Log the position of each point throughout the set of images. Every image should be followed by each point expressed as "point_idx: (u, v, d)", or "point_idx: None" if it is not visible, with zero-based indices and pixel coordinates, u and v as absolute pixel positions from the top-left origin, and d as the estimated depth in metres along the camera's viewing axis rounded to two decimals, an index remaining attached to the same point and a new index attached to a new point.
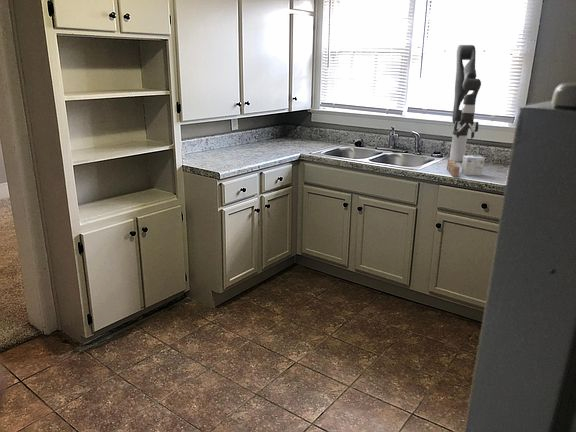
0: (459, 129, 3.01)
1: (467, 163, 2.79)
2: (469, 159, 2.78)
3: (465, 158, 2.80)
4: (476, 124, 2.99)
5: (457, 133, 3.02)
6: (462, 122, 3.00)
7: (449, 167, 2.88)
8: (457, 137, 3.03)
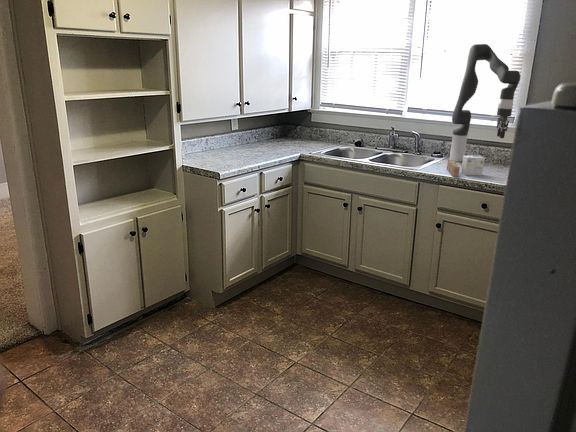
0: None
1: (467, 163, 2.79)
2: (469, 159, 2.78)
3: (465, 158, 2.80)
4: None
5: (504, 133, 2.71)
6: None
7: (449, 167, 2.88)
8: (503, 137, 2.73)
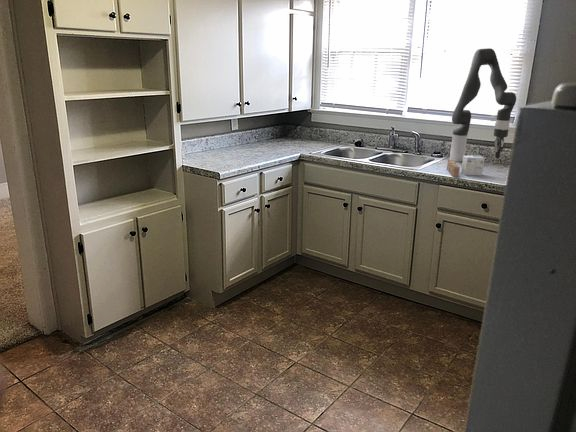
0: None
1: (467, 163, 2.79)
2: (469, 159, 2.78)
3: (465, 158, 2.80)
4: None
5: None
6: None
7: (449, 167, 2.88)
8: (498, 157, 2.79)
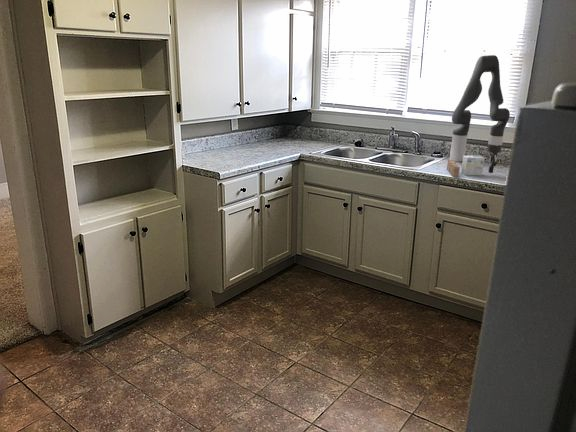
0: None
1: (467, 163, 2.79)
2: (469, 159, 2.78)
3: (465, 158, 2.80)
4: None
5: (492, 168, 2.81)
6: None
7: (449, 167, 2.88)
8: (491, 172, 2.82)
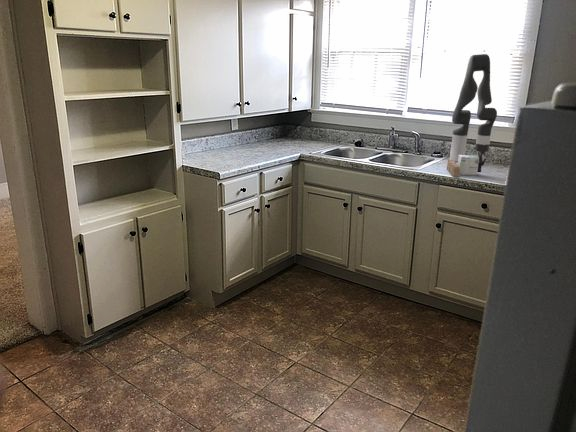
0: (482, 163, 2.81)
1: (461, 162, 2.80)
2: (463, 158, 2.79)
3: (459, 157, 2.82)
4: None
5: (480, 167, 2.81)
6: None
7: (449, 167, 2.88)
8: (479, 171, 2.83)
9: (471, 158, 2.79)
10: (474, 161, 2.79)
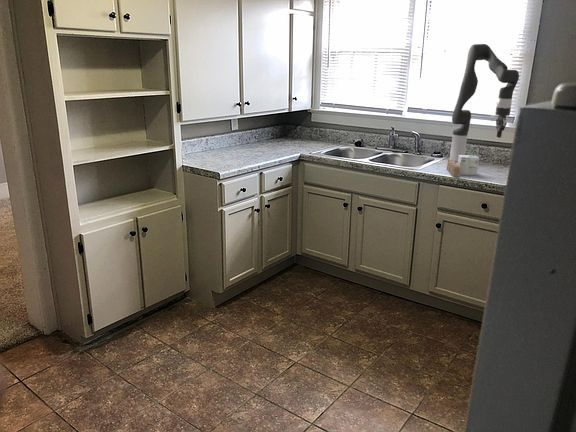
0: None
1: (461, 162, 2.80)
2: (463, 158, 2.79)
3: (459, 157, 2.82)
4: None
5: (501, 132, 2.74)
6: None
7: (449, 167, 2.88)
8: (500, 137, 2.75)
9: (471, 158, 2.79)
10: (474, 161, 2.79)
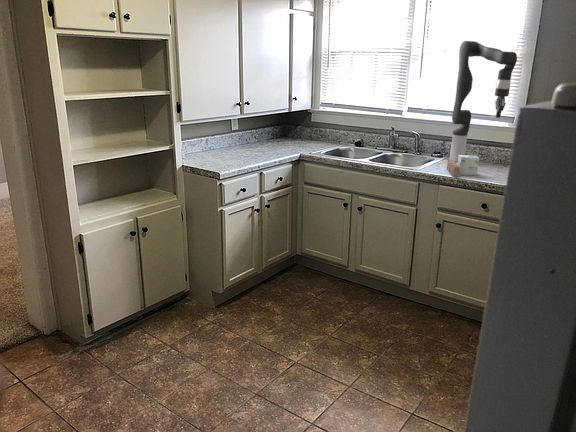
0: None
1: (461, 162, 2.80)
2: (463, 158, 2.79)
3: (459, 157, 2.82)
4: None
5: (500, 113, 2.84)
6: None
7: (449, 167, 2.88)
8: (499, 117, 2.85)
9: (471, 158, 2.79)
10: (474, 161, 2.79)
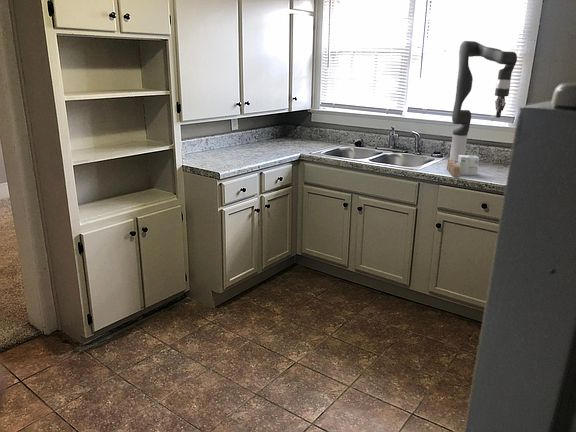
0: None
1: (461, 162, 2.80)
2: (463, 158, 2.79)
3: (459, 157, 2.82)
4: None
5: (500, 113, 2.84)
6: None
7: (449, 167, 2.88)
8: (499, 117, 2.85)
9: (471, 158, 2.79)
10: (474, 161, 2.79)
